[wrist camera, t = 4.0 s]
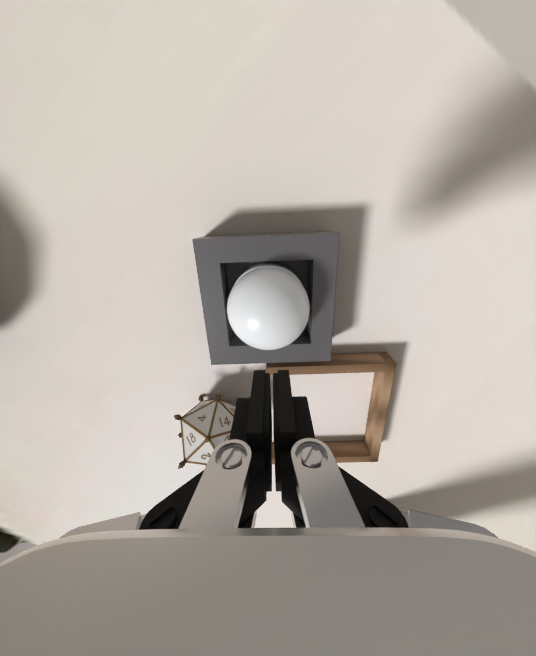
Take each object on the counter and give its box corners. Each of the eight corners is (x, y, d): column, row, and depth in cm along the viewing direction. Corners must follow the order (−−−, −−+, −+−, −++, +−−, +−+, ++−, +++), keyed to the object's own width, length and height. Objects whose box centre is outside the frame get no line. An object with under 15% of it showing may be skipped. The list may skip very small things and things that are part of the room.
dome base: (322, 342, 29) (330, 360, 25) (218, 346, 29) (211, 364, 25) (328, 231, 24) (339, 233, 20) (204, 236, 24) (192, 239, 20)
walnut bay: (370, 445, 35) (377, 461, 33) (271, 448, 35) (271, 464, 33) (386, 352, 29) (396, 363, 27) (266, 356, 29) (266, 367, 27)
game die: (219, 378, 35) (211, 374, 25) (262, 422, 34) (270, 436, 25) (169, 427, 33) (139, 443, 23) (214, 475, 32) (202, 513, 23)
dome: (303, 328, 27) (314, 364, 20) (236, 331, 27) (225, 367, 20) (304, 259, 24) (318, 274, 17) (229, 262, 24) (214, 278, 17)
